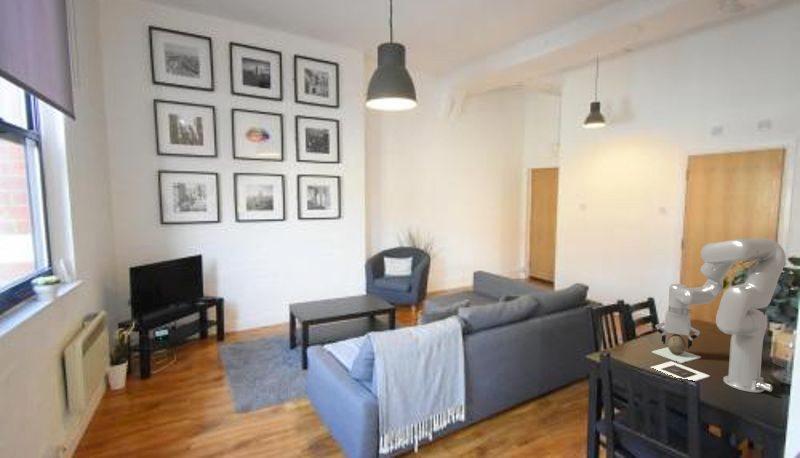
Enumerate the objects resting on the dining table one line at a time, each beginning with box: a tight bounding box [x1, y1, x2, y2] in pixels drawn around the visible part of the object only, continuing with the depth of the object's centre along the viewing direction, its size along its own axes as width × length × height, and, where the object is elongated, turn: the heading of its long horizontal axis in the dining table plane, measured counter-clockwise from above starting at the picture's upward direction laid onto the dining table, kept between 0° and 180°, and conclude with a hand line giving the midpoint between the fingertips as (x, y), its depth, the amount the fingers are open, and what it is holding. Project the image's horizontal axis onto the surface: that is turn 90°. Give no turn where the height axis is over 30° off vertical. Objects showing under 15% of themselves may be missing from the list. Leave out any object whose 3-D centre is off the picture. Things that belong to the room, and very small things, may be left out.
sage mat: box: [651, 346, 702, 364], centre depth 188 cm, size 14×14×1 cm
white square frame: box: [650, 360, 711, 382], centre depth 170 cm, size 16×14×1 cm
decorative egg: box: [667, 334, 687, 355], centre depth 187 cm, size 7×7×10 cm
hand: (676, 345), depth 188 cm, fingers open, 9 cm apart
